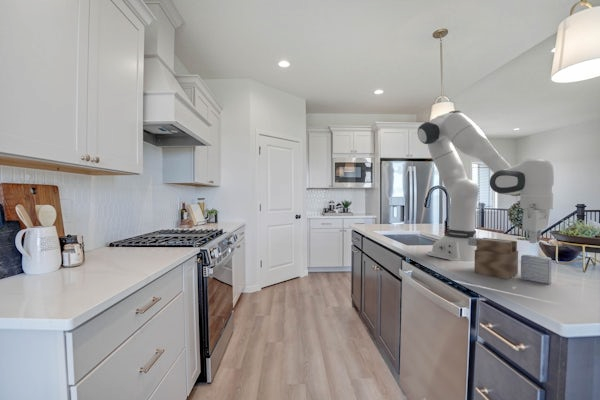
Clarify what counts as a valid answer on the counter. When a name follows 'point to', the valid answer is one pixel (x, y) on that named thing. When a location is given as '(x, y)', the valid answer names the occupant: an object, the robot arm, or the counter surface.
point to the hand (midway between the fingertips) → (534, 242)
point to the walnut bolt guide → (496, 258)
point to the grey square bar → (473, 240)
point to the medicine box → (536, 268)
